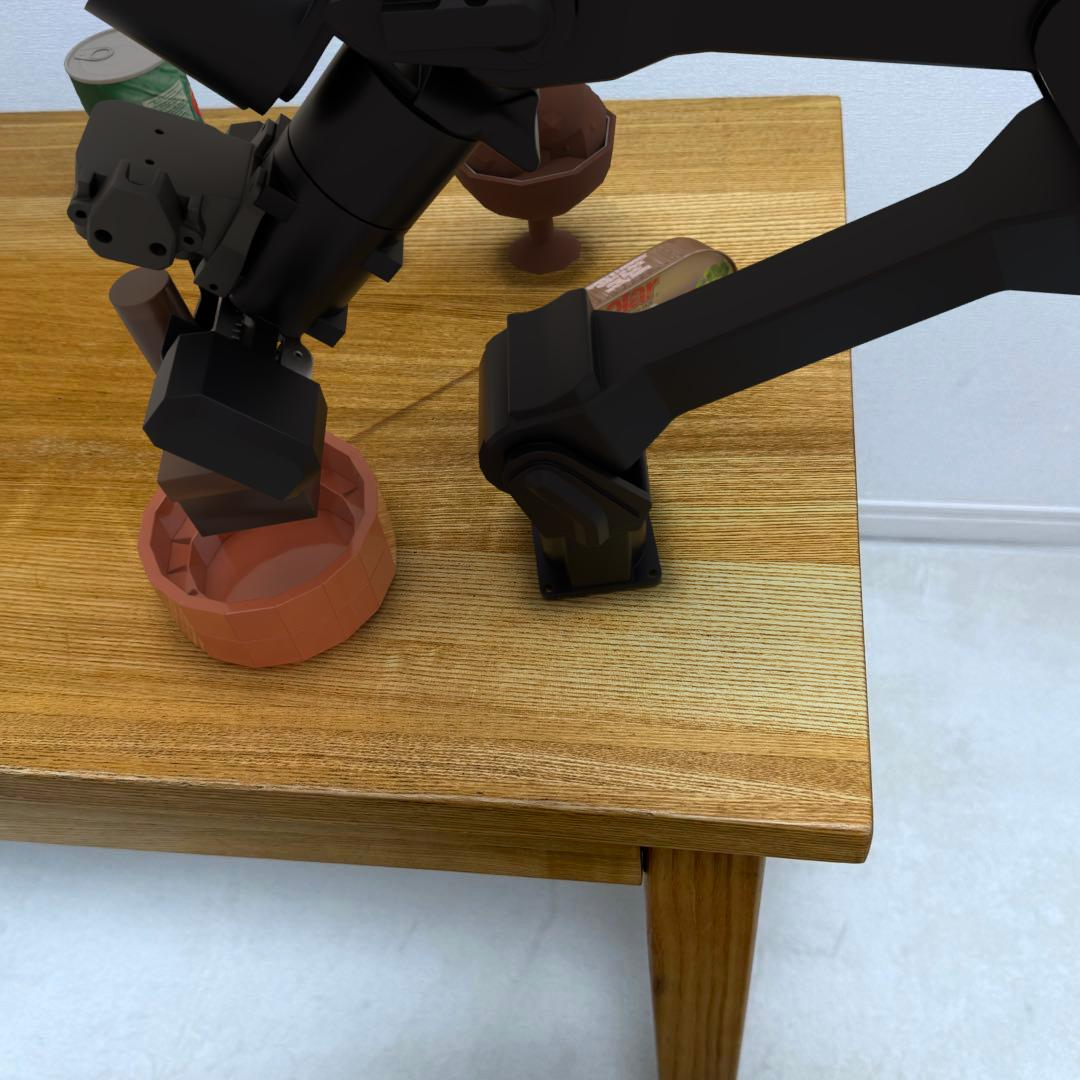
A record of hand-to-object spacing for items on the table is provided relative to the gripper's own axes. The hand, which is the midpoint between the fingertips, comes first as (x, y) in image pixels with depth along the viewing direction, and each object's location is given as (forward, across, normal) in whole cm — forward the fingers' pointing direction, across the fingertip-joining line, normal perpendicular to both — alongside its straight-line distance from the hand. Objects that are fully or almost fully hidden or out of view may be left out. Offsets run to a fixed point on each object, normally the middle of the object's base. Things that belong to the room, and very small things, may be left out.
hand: (174, 410), depth 49 cm
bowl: (+8, 0, +10) cm, 13 cm away
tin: (-6, -12, +25) cm, 28 cm away
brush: (+3, 0, +6) cm, 7 cm away
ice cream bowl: (-3, -26, +22) cm, 34 cm away
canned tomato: (+18, -40, +1) cm, 44 cm away
